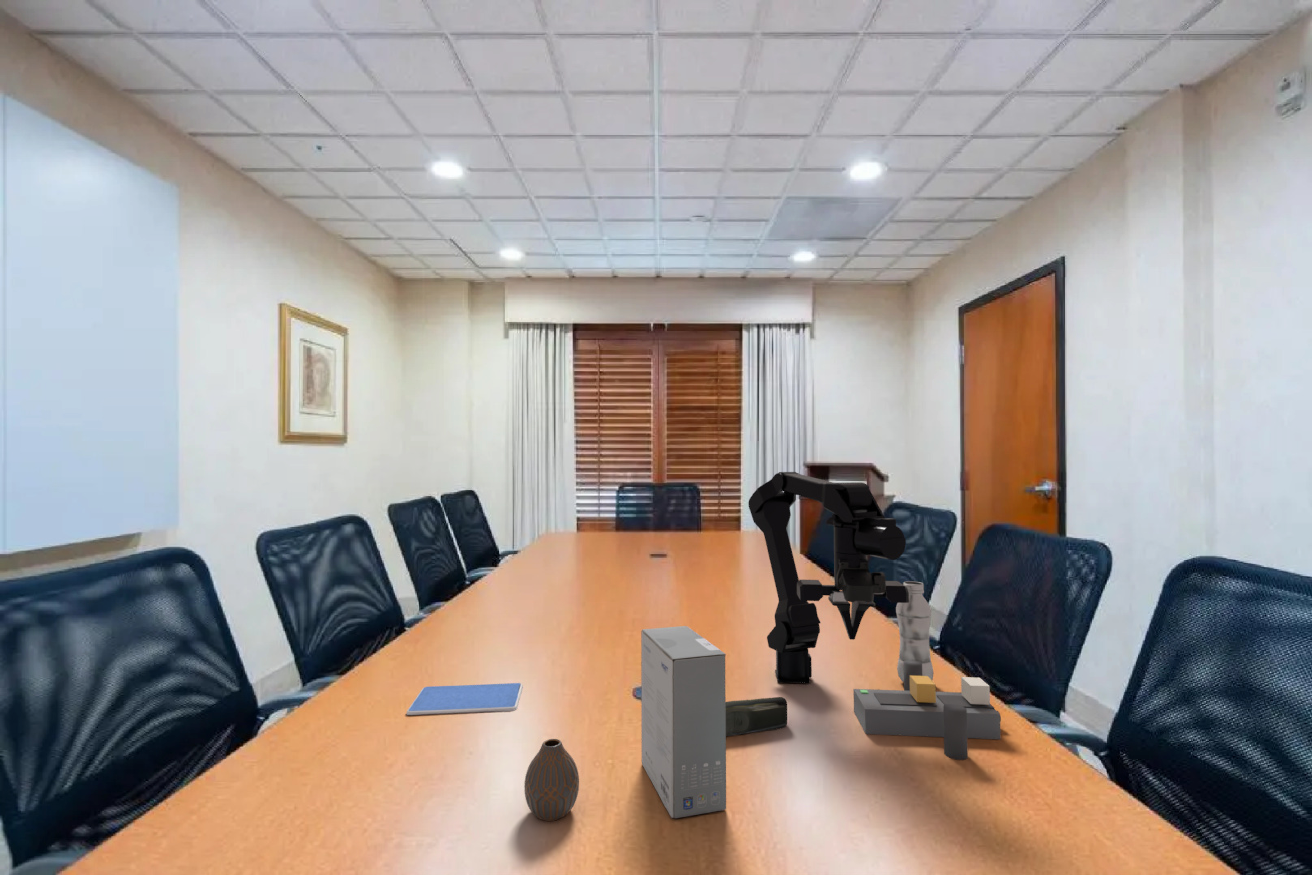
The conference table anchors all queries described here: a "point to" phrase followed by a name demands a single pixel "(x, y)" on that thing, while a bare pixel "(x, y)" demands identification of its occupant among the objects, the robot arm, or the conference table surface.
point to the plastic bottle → (914, 630)
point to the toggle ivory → (975, 690)
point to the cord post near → (955, 731)
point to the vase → (551, 782)
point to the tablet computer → (466, 699)
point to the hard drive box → (684, 720)
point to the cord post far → (911, 672)
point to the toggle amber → (923, 689)
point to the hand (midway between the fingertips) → (851, 638)
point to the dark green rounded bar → (755, 715)
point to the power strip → (920, 714)
